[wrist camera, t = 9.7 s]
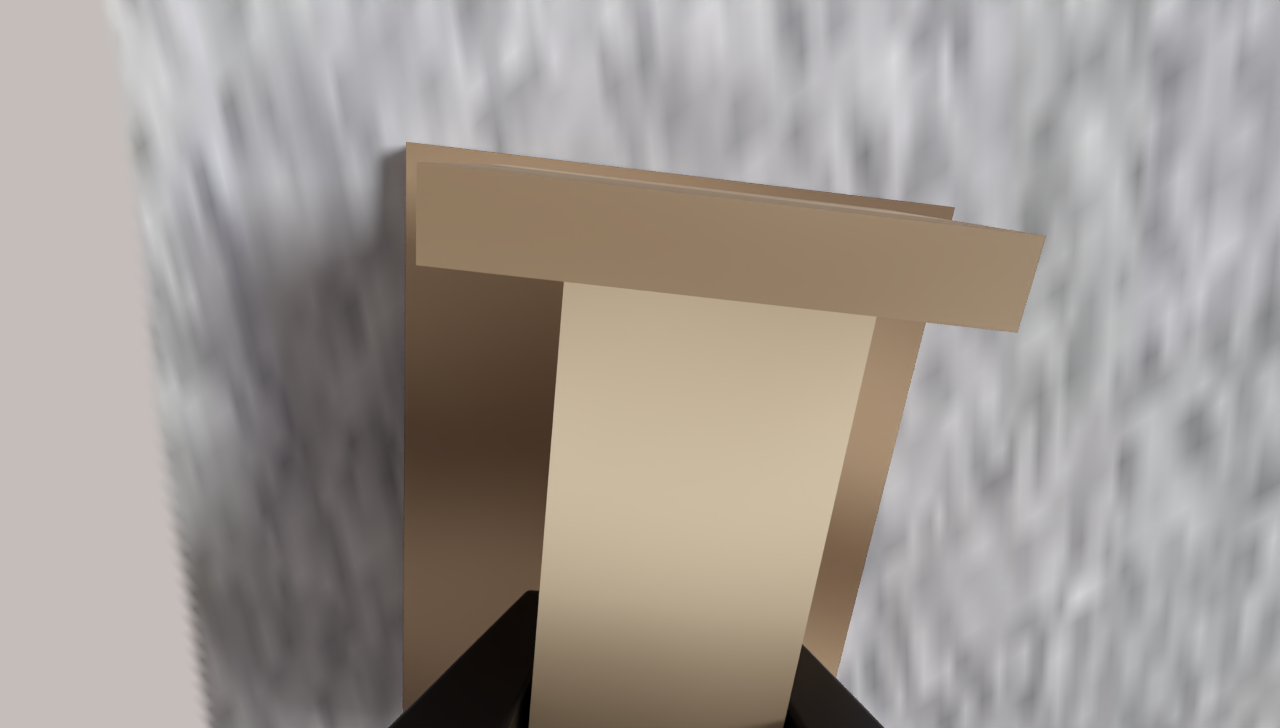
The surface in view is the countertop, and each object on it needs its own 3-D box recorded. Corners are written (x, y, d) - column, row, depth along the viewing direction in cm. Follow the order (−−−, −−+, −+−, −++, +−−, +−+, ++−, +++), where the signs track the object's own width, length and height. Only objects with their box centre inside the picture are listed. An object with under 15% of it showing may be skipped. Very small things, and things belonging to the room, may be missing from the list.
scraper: (750, 814, 12) (796, 1077, 8) (475, 791, 11) (407, 1051, 8) (884, 209, 8) (1046, 236, 5) (506, 164, 8) (417, 162, 5)
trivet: (806, 740, 15) (814, 763, 14) (412, 705, 14) (402, 728, 14) (938, 205, 11) (954, 207, 10) (418, 143, 11) (406, 141, 10)
